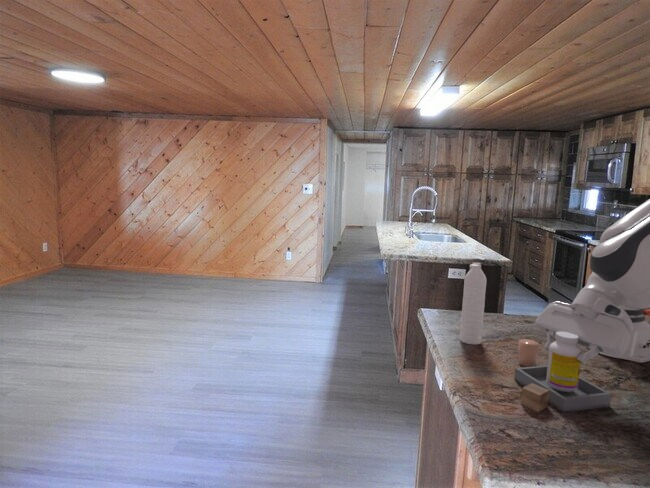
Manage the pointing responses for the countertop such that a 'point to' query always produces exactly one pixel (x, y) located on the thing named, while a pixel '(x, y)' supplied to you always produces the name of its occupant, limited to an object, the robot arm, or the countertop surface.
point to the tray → (565, 401)
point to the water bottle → (473, 305)
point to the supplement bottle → (563, 363)
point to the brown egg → (528, 353)
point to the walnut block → (535, 397)
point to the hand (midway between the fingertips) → (563, 355)
